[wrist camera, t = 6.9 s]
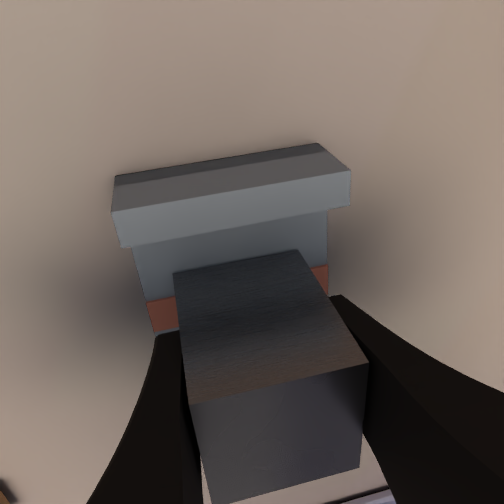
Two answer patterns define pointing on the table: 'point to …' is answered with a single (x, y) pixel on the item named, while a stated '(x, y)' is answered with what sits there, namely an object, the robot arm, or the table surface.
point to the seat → (226, 216)
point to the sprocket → (3, 499)
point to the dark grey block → (268, 376)
